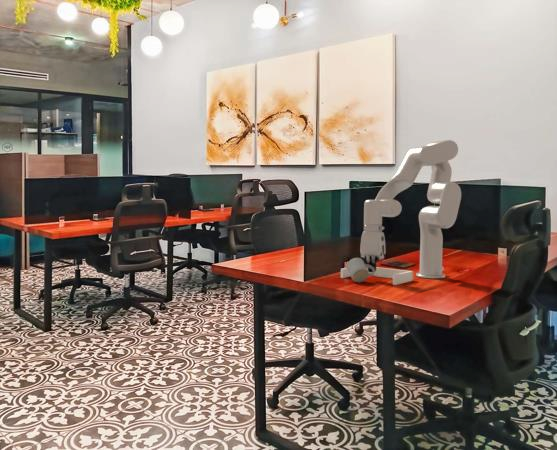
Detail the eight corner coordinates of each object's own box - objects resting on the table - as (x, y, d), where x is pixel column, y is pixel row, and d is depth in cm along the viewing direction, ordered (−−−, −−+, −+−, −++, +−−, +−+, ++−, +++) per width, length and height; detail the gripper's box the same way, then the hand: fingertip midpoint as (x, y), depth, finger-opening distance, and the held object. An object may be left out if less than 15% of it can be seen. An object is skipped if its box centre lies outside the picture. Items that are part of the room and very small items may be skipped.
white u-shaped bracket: (359, 274, 234) (360, 265, 234) (413, 280, 216) (413, 271, 216) (340, 277, 222) (340, 268, 222) (395, 285, 205) (395, 275, 205)
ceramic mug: (354, 286, 210) (351, 273, 205) (348, 273, 217) (344, 260, 212) (378, 277, 210) (375, 264, 206) (371, 264, 217) (368, 251, 212)
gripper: (393, 229, 213) (392, 272, 214) (362, 227, 223) (361, 269, 224) (383, 230, 207) (383, 274, 208) (352, 228, 217) (352, 271, 218)
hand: (372, 271), depth 216 cm, fingers closed
